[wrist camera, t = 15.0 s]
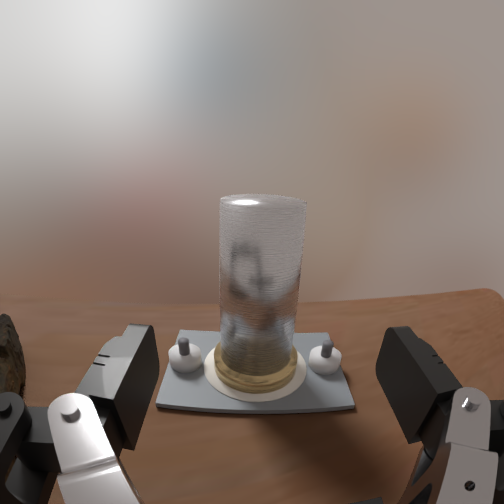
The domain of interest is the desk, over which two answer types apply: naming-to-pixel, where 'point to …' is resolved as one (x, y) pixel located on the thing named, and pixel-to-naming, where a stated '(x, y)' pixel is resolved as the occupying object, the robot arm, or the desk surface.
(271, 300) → the clear glass cylinder
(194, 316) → the desk surface
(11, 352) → the hand tool
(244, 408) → the board
